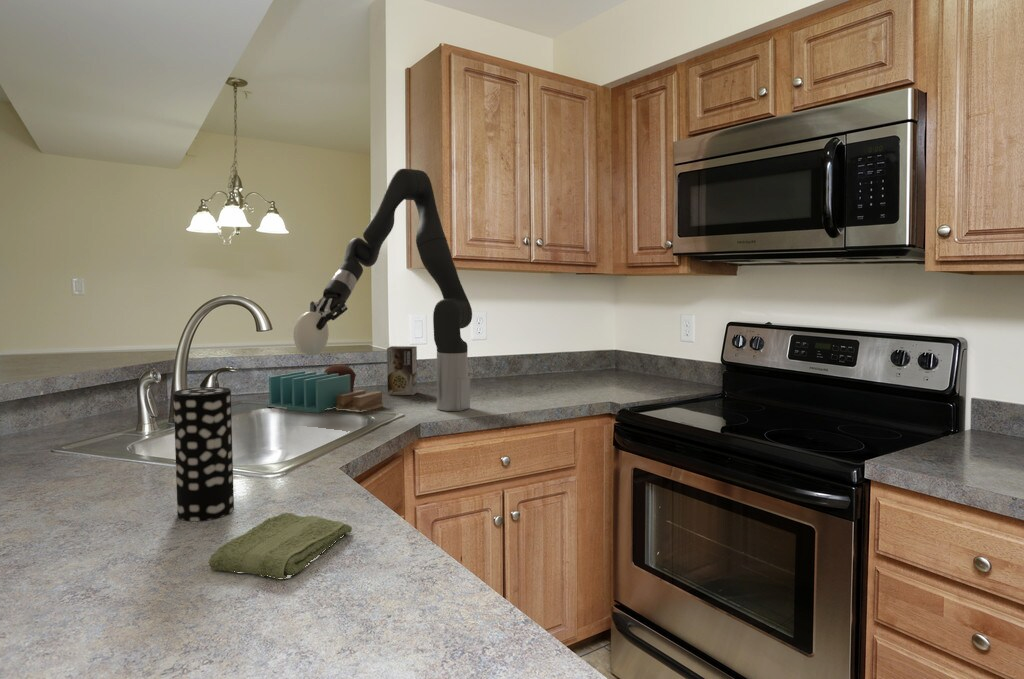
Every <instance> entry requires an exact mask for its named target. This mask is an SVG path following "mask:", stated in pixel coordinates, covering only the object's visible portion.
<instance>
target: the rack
mask: <svg viewBox="0 0 1024 679" xmlns="http://www.w3.org/2000/svg"><path fill="white" fill-rule="evenodd" d="M348 392H350V375H343V376H339V374H332V375H327V373H324V372H323V373H322V372H321V373H317V371H311V372H306V370H301V371H296V372H295V371H294V372H290V373H283V374H278V375H272V376H269V377H268V393H269V395H268V398H269V402H268V403H267V404H266V405H275V406H282V407H287V409H286V410H288V411H298V412H306V413H316V414H319V413H323V412H325V411H324V410H325V409H327V408H333V407H337V395H340V394H344V393H348Z"/></svg>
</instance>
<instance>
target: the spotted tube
mask: <svg viewBox="0 0 1024 679" xmlns="http://www.w3.org/2000/svg"><path fill="white" fill-rule="evenodd" d="M172 395H173V419H174V424H173V425H174V446H175V447H174V448H175V449H174V450H175V451H174V452H175V455H174V456H175V473H176V474H175V479H176V507H177V508H176V510H177V513H176V514H177V518H178V519H180V520H181V521H186V522H187V521H188V522H203V521H211V520H216V519H220V518H222V517H225V516H227V515H229V514H231V513H232V512H234V510H235V502H234V500H235V498H234V496H235V495H234V465H233V464H234V461H233V424H232V420H233V418H232V389H231V388H229V387H222V386H203V387H201V386H200V387H192V388H191V387H190V388H183V389H179V390H176V391H173V394H172Z"/></svg>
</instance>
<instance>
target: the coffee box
mask: <svg viewBox="0 0 1024 679" xmlns="http://www.w3.org/2000/svg"><path fill="white" fill-rule="evenodd" d="M417 353H418V351H417V346H408V345H407V346H406V345H405V346H404V345H402V346H401V345H398V346H397V345H395V346H394V345H392V346H389V347H387V348H386V367H387V369H386V371H387V378H386V379H387V384H386V385H387V396H388V395H392V396H396V395H398V396H401V395H402V396H414V395H415V394H416V393H418V364H417V362H418V360H417V358H418V357H417Z"/></svg>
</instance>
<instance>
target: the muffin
mask: <svg viewBox="0 0 1024 679" xmlns="http://www.w3.org/2000/svg"><path fill="white" fill-rule="evenodd" d="M323 373H327V375H332V374H339V376H343V375H350V392H352V391H354V388H355V387H354V386H355V379H356V377H357V374H356V373H355V371H354V370H353V369H352V368H351V367H350V366H349V365H346V364H333V365H330V366H328V367H327V368H325V370H324V371H323Z"/></svg>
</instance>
